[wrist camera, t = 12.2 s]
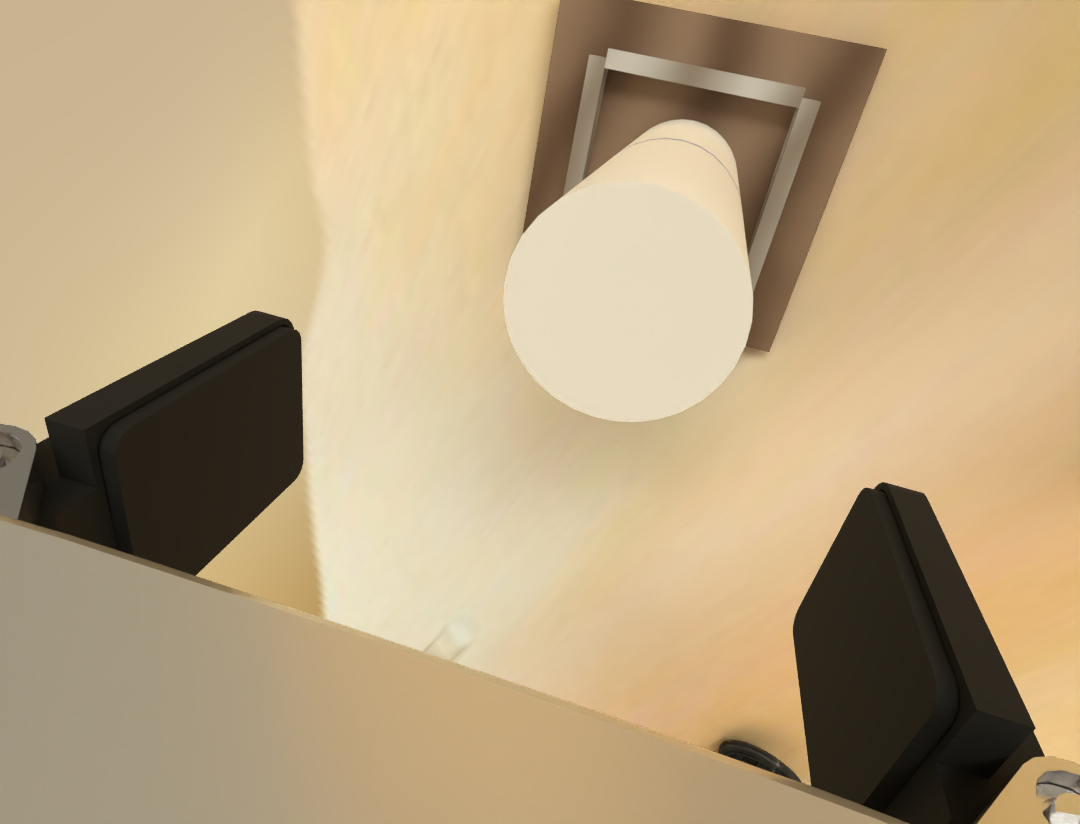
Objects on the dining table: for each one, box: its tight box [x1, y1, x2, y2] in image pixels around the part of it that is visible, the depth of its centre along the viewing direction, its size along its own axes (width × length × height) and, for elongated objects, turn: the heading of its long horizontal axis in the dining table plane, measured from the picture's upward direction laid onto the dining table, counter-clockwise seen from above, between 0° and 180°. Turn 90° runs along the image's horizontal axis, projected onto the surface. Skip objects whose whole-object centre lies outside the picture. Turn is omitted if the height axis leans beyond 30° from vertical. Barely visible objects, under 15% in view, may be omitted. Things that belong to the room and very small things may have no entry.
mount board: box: [523, 0, 887, 352], centre depth 40 cm, size 18×18×3 cm
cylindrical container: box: [503, 119, 753, 422], centre depth 29 cm, size 7×7×25 cm
